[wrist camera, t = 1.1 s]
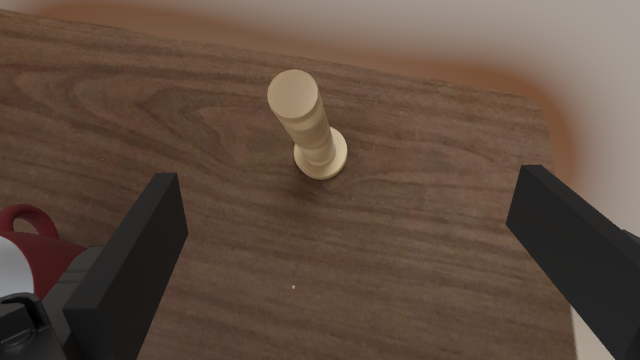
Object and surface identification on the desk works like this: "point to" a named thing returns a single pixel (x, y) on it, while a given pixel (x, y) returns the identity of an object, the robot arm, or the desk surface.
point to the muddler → (307, 124)
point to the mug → (32, 253)
